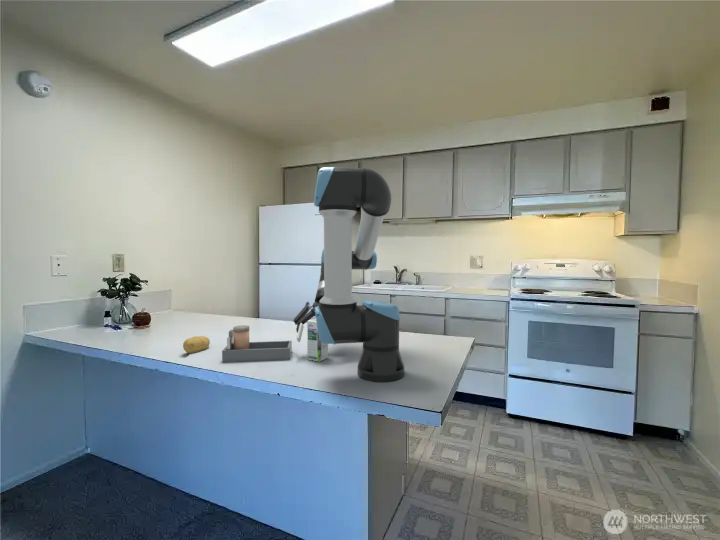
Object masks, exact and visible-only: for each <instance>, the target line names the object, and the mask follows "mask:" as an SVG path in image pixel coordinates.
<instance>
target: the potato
mask: <svg viewBox="0 0 720 540" xmlns="http://www.w3.org/2000/svg"><path fill="white" fill-rule="evenodd" d="M210 342H211V341H210V338H209V337H207V336H205V335H200V336H198V335H197V336H192V337H189V338H187V339H185V340H184V342H183V344H182V347H183V350H184V351H185V352H186V353H188V354H195V353H198V352H202V351H203V350H206V349H208V348H209V346H210V344H211V343H210Z"/></svg>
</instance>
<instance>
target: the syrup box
mask: <svg viewBox="0 0 720 540" xmlns="http://www.w3.org/2000/svg"><path fill="white" fill-rule="evenodd" d="M306 323H307V325H306V330H307V331H306V333H307V334H306V335H307V336H306V338H307V342H306V343H307V345H306V346H307V347H306V348H307V353H306V354H307V359H308V360H307V361H312V360H313V362H318V363H321V362H322V360H323V361H325V360H326V358H327V359H328V358H329V344H323V343H321V342H320V340H319V335H318V329H317V322H316V318H311V319H310V320H308V321H307V322H306ZM324 359H325V360H324ZM320 361H321V362H320Z"/></svg>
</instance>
